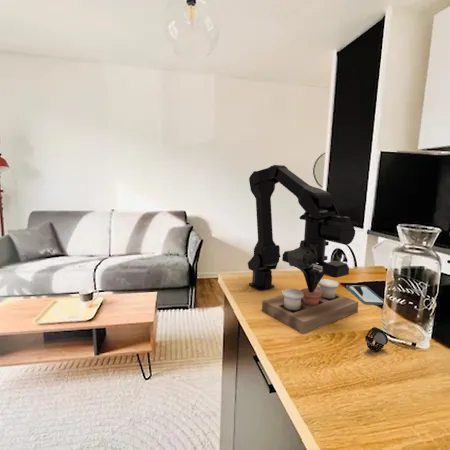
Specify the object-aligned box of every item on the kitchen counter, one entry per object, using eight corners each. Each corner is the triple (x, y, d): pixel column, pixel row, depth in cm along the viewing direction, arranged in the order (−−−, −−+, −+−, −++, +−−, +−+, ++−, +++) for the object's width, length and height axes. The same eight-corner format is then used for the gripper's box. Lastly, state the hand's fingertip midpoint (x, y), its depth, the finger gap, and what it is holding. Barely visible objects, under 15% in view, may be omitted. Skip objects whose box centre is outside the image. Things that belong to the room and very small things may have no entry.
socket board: (261, 310, 84) (262, 300, 84) (315, 294, 97) (315, 285, 97) (303, 333, 72) (303, 322, 72) (357, 311, 85) (358, 301, 85)
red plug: (296, 303, 85) (296, 290, 85) (309, 299, 88) (310, 287, 88) (311, 311, 81) (312, 297, 80) (324, 306, 84) (325, 293, 83)
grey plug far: (313, 294, 89) (314, 281, 89) (325, 290, 92) (326, 278, 92) (329, 300, 85) (330, 287, 84) (341, 296, 88) (342, 283, 87)
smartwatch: (389, 354, 65) (392, 332, 64) (368, 355, 64) (370, 333, 63) (377, 343, 69) (379, 323, 68) (356, 345, 68) (358, 324, 67)
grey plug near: (277, 304, 81) (278, 290, 80) (291, 300, 84) (292, 287, 83) (292, 312, 76) (293, 297, 76) (307, 307, 79) (308, 293, 79)
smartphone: (364, 303, 90) (345, 285, 105) (364, 306, 91) (344, 287, 105) (388, 304, 90) (366, 285, 105) (388, 307, 91) (365, 288, 105)
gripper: (269, 234, 85) (267, 286, 87) (324, 247, 69) (320, 310, 72) (296, 231, 91) (293, 280, 93) (352, 242, 76) (347, 301, 78)
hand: (311, 291), depth 84 cm, fingers closed, pressing on red plug
